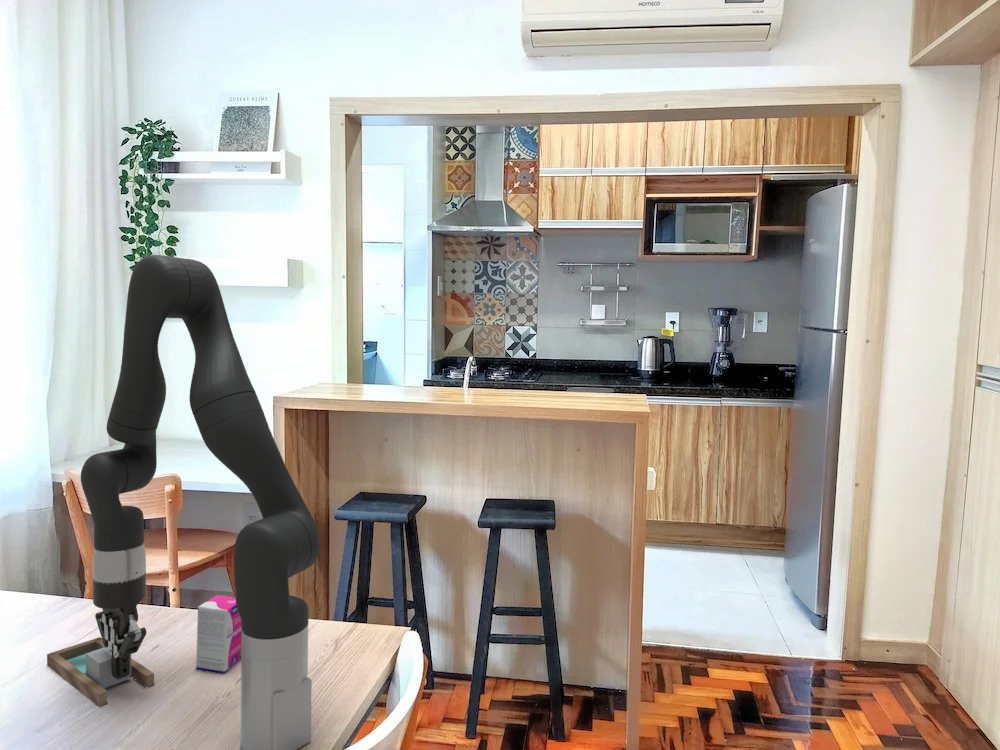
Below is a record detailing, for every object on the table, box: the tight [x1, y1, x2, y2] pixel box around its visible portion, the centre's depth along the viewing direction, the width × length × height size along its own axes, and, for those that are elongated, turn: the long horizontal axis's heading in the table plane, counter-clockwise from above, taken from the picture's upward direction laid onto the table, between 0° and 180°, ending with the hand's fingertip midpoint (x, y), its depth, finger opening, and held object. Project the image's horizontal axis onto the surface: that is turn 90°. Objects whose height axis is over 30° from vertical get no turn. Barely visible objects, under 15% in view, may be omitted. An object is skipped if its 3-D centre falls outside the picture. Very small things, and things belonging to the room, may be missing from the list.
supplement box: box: [195, 594, 242, 675], centre depth 121 cm, size 6×6×12 cm
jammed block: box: [85, 647, 132, 689], centre depth 114 cm, size 5×5×4 cm
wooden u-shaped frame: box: [46, 636, 155, 708], centre depth 116 cm, size 20×9×2 cm, turn 53°
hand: (120, 675), depth 111 cm, fingers closed
